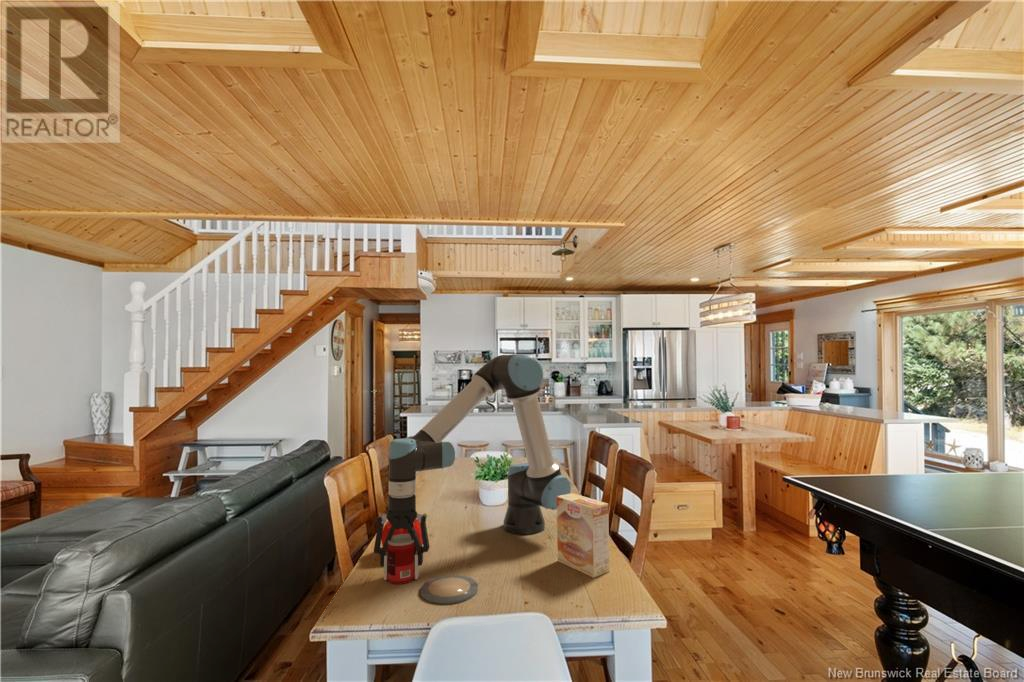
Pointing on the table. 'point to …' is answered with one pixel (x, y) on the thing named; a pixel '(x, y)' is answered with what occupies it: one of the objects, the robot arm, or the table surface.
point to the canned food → (401, 559)
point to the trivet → (449, 589)
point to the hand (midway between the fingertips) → (401, 577)
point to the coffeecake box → (583, 534)
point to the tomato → (401, 531)
